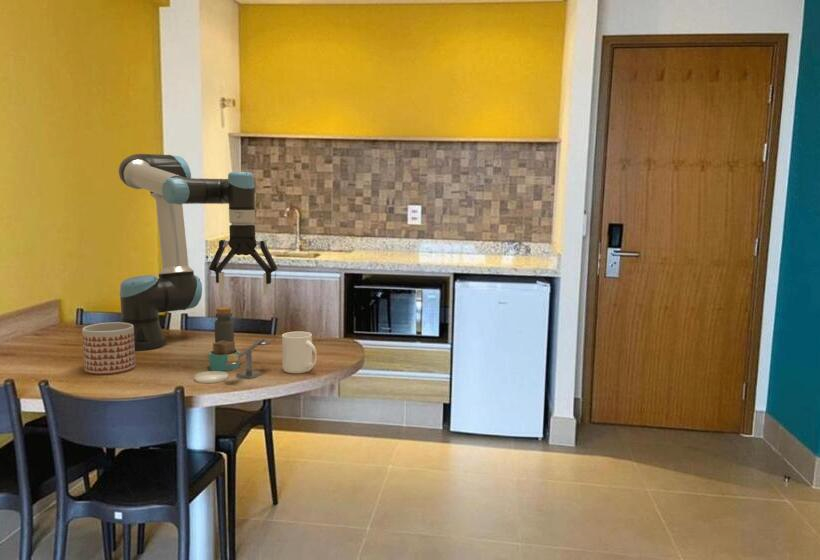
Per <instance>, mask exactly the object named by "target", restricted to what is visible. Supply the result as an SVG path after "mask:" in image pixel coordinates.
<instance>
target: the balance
mask: <svg viewBox="0 0 820 560" xmlns="http://www.w3.org/2000/svg"><path fill="white" fill-rule="evenodd" d="M271 342H272V341H270V340H265V338H260V339H259V340H257V341H255V342H254V343H252V344H251V345H249V346H248V347H247V348H245V349H243V350H242V351H241V352H239V354H230V355H228V361H226V362H225V365H227V366H236V365H242V361H241V359H240V358H242V357H243V356H245V370H243V371H241V372H238V373H236V375H235V376H236V378H241V379H242V378H243V379H246V380H247V379H248V380H251V379H255V378H257V377H260V376H261V375H263V373H262V371H257V370H253V366H252V365H253V361H252V360H253V359H252V357H253V356H252V355H253V354H252V350H254V349H255V348H257V347H258V346H268V345H269V346H270V345H271V344H272V343H271ZM238 359H239V360H238Z"/></svg>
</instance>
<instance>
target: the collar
mask: <svg viewBox="0 0 820 560" xmlns="http://www.w3.org/2000/svg"><path fill="white" fill-rule="evenodd" d="M239 353H240V351H239V349H236V348H235V353H233V354H239ZM229 355H230V354H229ZM208 360H209V361H208V362H209V365H208V366H209V371H223V372H226V371H234V370H237V369H238V368H240V365H241V364H240V365H236V366H227V365H225V362H226V361H228V355H215V354H213V350H211V351H208ZM238 360H240V358H239V359H238Z"/></svg>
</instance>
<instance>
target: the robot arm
mask: <svg viewBox="0 0 820 560" xmlns="http://www.w3.org/2000/svg"><path fill="white" fill-rule="evenodd" d="M118 176H119V179H120V180H121V182H122V183H123V184H124V185H126V186H127V187H129V188H131V189H135V190H142V189H143V190H146V191H148V192H150V194H149V195H150V196H152V198H154V200H155V206H156V216H157V225H158V235H159V245H160V246H159V247H160V256H161V264H162V268H161V270H160V271H159V273H158V277H157V275H154V274H146V275H137V276H133V277H129V278H128V277H127V278H126V279H124V280H123V281H121V283H120V287H119V288H120V290H119V297H120V299H119V300H120V312H121V313H120V314H121V322H123V323H130V324H132V325H133V326H134V342H135V351H145V350H153V349H157V348H161V347H163V346H165V345H166V337H165V334H164V333H163V330H162V326H161V324H160V317H159V316H160V315H159V313H168V312H169V313H170V312H174V311H175V312H176V311H185V310H189V309H194V308H195V307H196V306H198V305H199V304H200V301H201V299H202V296H203V295H202V294H203V284H202V281H201V278H200V277H199V276H197V275H195V273H194V269H193V268H191V267H190V266H189V259H188V258H189V256H188V248H187V247H188V246H187V239H186V238H187V237H186V227H185V216H184V207H183V205H185V204H186V205H191V204H193V205H194V204H196V205H198V204H200V205H202V204H205V205H206V204H209V205H210V204H211V205H212V204H215V205H225V204H226V205H228V216H229V217H228V218H229V223H230V225H229V226H228V227H229V230H228V231H229V240H226V239H221V240H219V241H218V248H217V250H216V252H215V254H214V256H213V258H212V259H213V260H211V262H210V265H209V268H208V270H209V271H212V272H214V273H215V283H216V284H218V290H219V291H218V292H219V293H218V295H223V294H226V293H225V291H226V289H225V271H223V270H224V269H225V267H226V266H227V265H228V264H229V262H230V261H231V259H233V257H234V256H235V255H236V256H241V255H242V256H249V255H250V256H251V258H253V259H254V260H255V261H256V263H257V264H258V265H259V267H260V268H262V270H263V271H264V273H263V274H262V279H263V280H262V281H263V282H262V283H263V284H262V285H263V296H268V295H269V285H270V284H271V283H272V274H273V272H276V271H277V270H278V266H277V265H276V263H275V261H274V258H273V257H272V255H271V253H270V251H269V249H268V245H267V240H264V239H263V240H257V239H256V225H255V223H256V211H255V207H256V206H255V205H256V204H255V202H256V195H255V194H256V193H255V190H256V189H255V188H256V187H255V186H256V184H255V177H254V174H253V173H252V172H249V171H230V172H229V173H228V174H227V178H196V177H195V178H192V172H191V168H190V166H189V164H188V162H187V161H186V160H185V159H184V157H182V156H179V155H171V154H149V153H135V154H131V155H129V156H127V157H125V158H124V159H123V160H122V161H121V163H120V165H119V167H118ZM228 246H229V248H230V251H229V252H228V253H227V255H226V256H225V257H224V258H223V260H222V261H220V260H221V258H222V256H223V253H224V252H225V249H226V248H227V247H228ZM257 246H258V248H259V249H260V250H261V252H262V254H263V256H264V258H265V260H266V262H265V260H264V259H263V258H262V257H261V256H260V254H259V252H258V251H257V250H256V247H257ZM219 262H220V263H219Z"/></svg>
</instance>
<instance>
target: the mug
mask: <svg viewBox="0 0 820 560" xmlns="http://www.w3.org/2000/svg"><path fill="white" fill-rule="evenodd" d="M281 338H282V340H281V342H282V343H281V344H282V348H281V349H282V370H283V372H285V373H288V374H304V373H308V372H310V371H311V370H312V368H313V367H314V366H315V365H316V363H317V359H318V358H317V355H318V353H317V348H316V346H315V344H313V333H311V332H308V331H290V332H285V333H282V335H281ZM313 353H314V358H315V359H314V360H313Z"/></svg>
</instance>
